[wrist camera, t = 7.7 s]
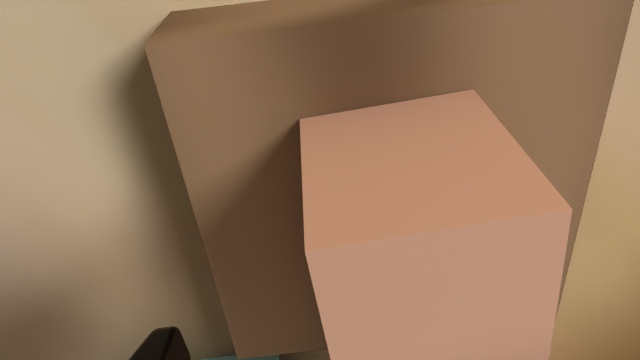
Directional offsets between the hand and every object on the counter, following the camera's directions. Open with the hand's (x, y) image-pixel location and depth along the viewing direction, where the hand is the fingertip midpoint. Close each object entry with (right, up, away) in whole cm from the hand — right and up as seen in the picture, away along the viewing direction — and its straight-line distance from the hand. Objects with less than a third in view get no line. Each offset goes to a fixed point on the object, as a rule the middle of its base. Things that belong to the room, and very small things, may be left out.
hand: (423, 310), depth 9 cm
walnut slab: (0, +3, +5) cm, 6 cm away
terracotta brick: (0, +1, +3) cm, 3 cm away
